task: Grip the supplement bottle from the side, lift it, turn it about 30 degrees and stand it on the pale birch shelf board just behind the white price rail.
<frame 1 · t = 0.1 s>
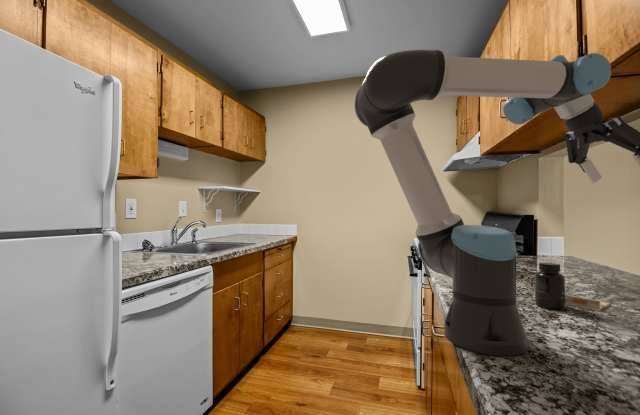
hand: (622, 177, 81), 36 cm above the countertop, tool tilted 35°, fingers open, 13 cm apart
shelf board: (582, 303, 89), on the countertop
supplement bottle: (549, 307, 86), on the countertop
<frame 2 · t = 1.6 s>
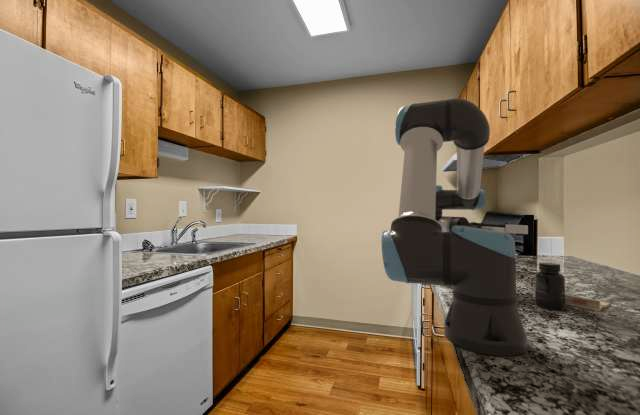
hand: (516, 231, 93), 21 cm above the countertop, tool horizontal, fingers open, 13 cm apart
nothing on the countertop moved.
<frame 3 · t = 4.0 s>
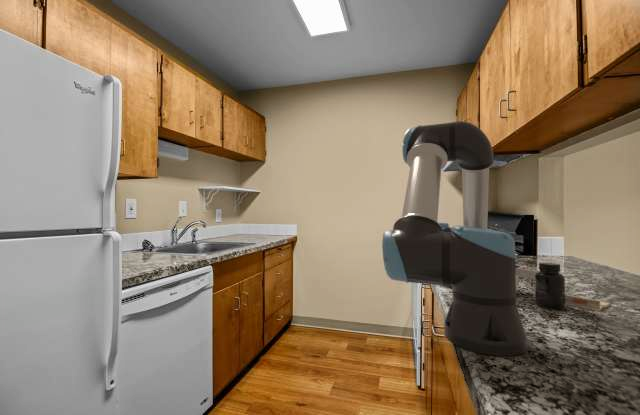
hand: (529, 278, 91), 7 cm above the countertop, tool horizontal, fingers open, 13 cm apart
nothing on the countertop moved.
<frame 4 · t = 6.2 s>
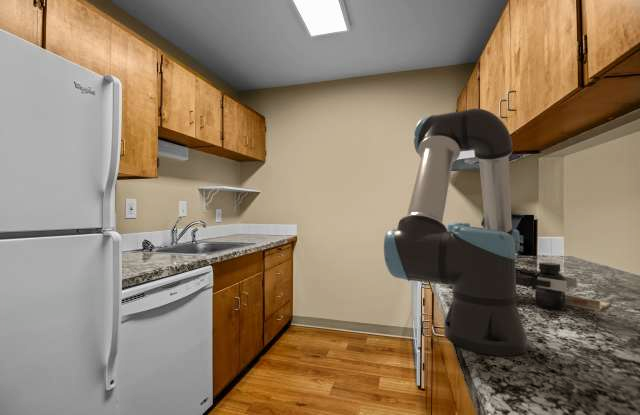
hand: (571, 284, 82), 7 cm above the countertop, tool horizontal, fingers closed on supplement bottle, 7 cm apart
supplement bottle: (549, 307, 86), on the countertop, touching gripper
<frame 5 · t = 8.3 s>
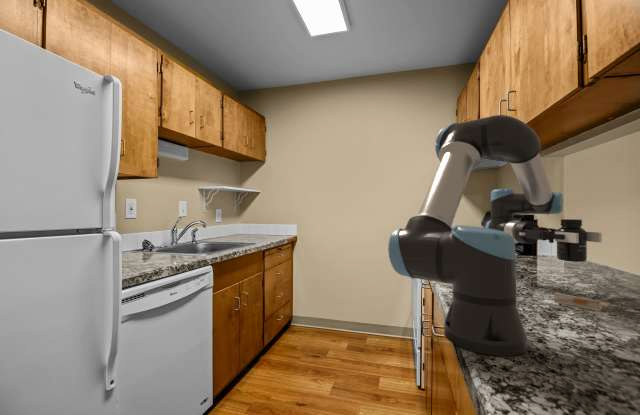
hand: (588, 237, 85), 19 cm above the countertop, tool horizontal, fingers closed on supplement bottle, 7 cm apart
supplement bottle: (571, 260, 90), point 12 cm above the countertop, touching gripper
when the fingers open (9 cm above the countertop, at t = 10.6 s): supplement bottle stays where it is, resting on shelf board.
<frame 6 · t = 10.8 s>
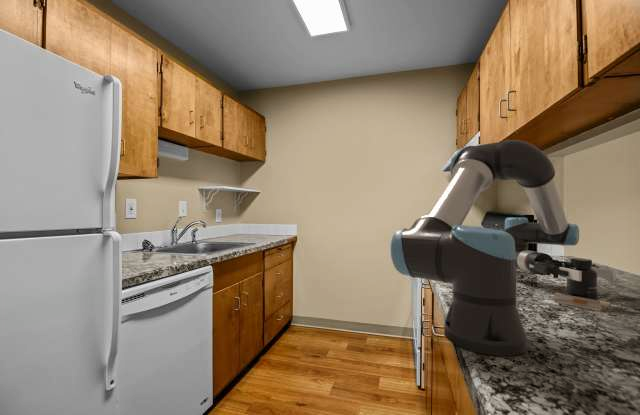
hand: (597, 276, 85), 9 cm above the countertop, tool horizontal, fingers open, 9 cm apart
supplement bottle: (582, 301, 89), point 1 cm above the countertop, touching shelf board
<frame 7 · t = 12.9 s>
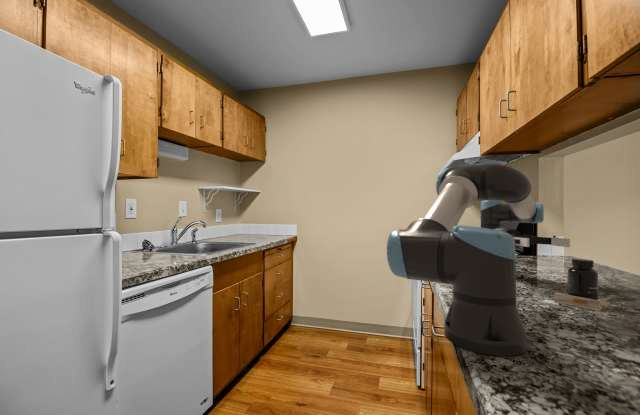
hand: (548, 242, 99), 17 cm above the countertop, tool horizontal, fingers open, 13 cm apart
nothing on the countertop moved.
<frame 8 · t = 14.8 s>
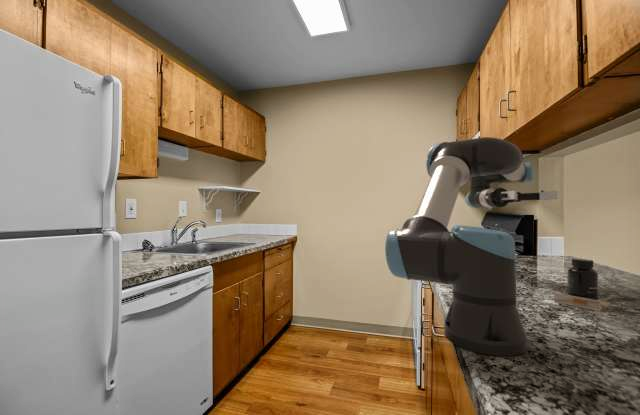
hand: (536, 194, 98), 32 cm above the countertop, tool horizontal, fingers open, 13 cm apart
nothing on the countertop moved.
at the end: supplement bottle inside the target area on the shelf board (0.3 cm from its centre), point 0.4 cm above the shelf board's base; supplement bottle tilted 0°; the gripper is holding nothing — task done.
